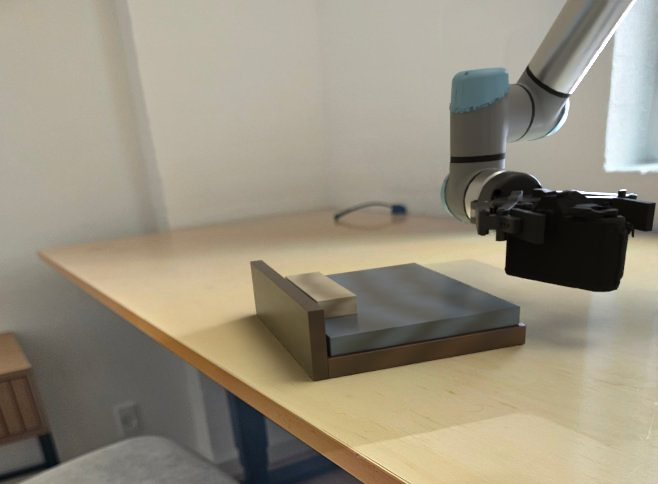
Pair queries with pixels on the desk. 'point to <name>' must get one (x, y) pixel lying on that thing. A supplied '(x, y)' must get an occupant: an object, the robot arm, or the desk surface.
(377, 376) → the desk surface
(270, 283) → the bed
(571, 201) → the film camera
